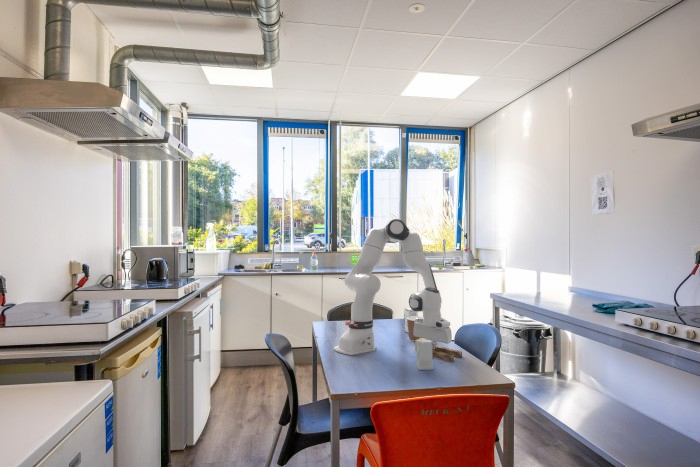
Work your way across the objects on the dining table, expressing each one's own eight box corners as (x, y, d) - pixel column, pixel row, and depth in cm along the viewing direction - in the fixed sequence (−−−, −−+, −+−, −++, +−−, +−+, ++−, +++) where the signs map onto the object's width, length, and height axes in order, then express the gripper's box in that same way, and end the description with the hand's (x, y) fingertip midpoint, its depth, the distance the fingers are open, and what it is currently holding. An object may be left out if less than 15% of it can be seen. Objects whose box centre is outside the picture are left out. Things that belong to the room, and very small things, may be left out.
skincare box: (429, 366, 163) (429, 339, 163) (432, 370, 158) (432, 342, 158) (416, 366, 162) (416, 339, 162) (418, 370, 158) (419, 342, 158)
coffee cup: (424, 342, 200) (425, 320, 200) (405, 341, 202) (406, 319, 202) (424, 337, 210) (425, 316, 210) (406, 336, 212) (406, 315, 212)
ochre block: (430, 350, 185) (430, 340, 186) (425, 352, 182) (425, 342, 182) (420, 347, 190) (420, 338, 190) (415, 349, 186) (415, 340, 186)
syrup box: (411, 330, 227) (411, 306, 227) (416, 332, 221) (417, 308, 222) (403, 331, 225) (403, 307, 225) (408, 333, 219) (408, 309, 219)
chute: (462, 356, 176) (462, 350, 176) (451, 361, 169) (451, 355, 169) (431, 349, 188) (431, 343, 188) (419, 353, 181) (419, 347, 181)
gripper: (410, 318, 187) (410, 345, 187) (446, 325, 173) (446, 354, 173) (417, 316, 192) (417, 343, 191) (453, 323, 177) (453, 351, 177)
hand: (431, 348), depth 182 cm, fingers closed
